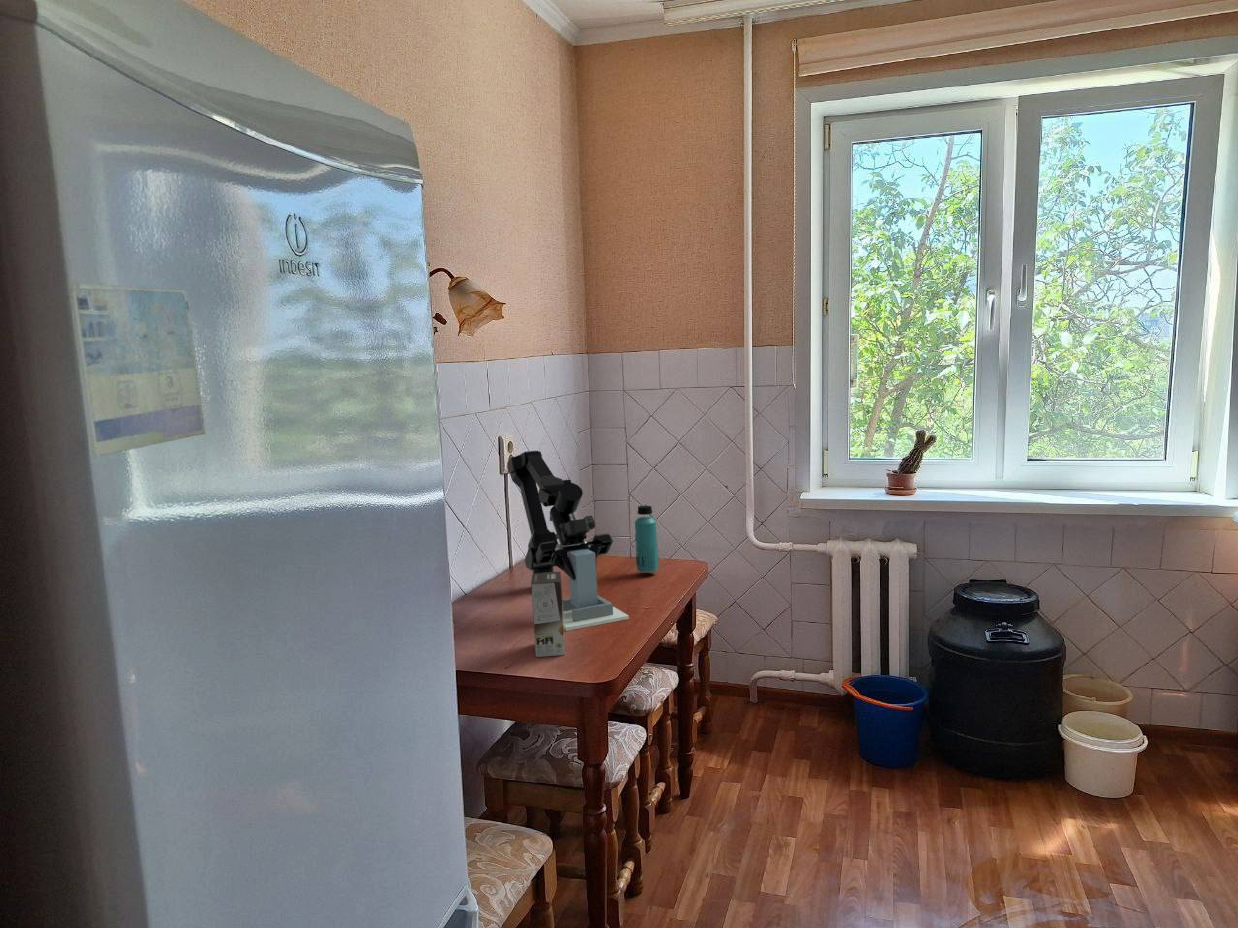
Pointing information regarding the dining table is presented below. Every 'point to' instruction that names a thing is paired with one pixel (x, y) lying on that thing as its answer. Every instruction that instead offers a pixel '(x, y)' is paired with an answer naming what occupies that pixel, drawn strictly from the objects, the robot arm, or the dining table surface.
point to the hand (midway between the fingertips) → (585, 577)
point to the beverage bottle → (646, 541)
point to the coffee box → (548, 614)
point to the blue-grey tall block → (583, 578)
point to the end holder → (590, 614)
